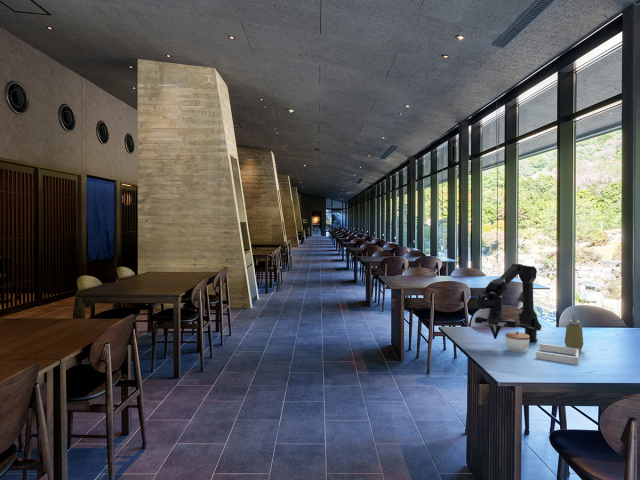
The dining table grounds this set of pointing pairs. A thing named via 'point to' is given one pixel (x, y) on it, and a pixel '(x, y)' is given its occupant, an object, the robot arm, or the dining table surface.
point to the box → (557, 356)
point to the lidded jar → (517, 341)
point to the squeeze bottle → (574, 334)
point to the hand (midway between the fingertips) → (495, 338)
